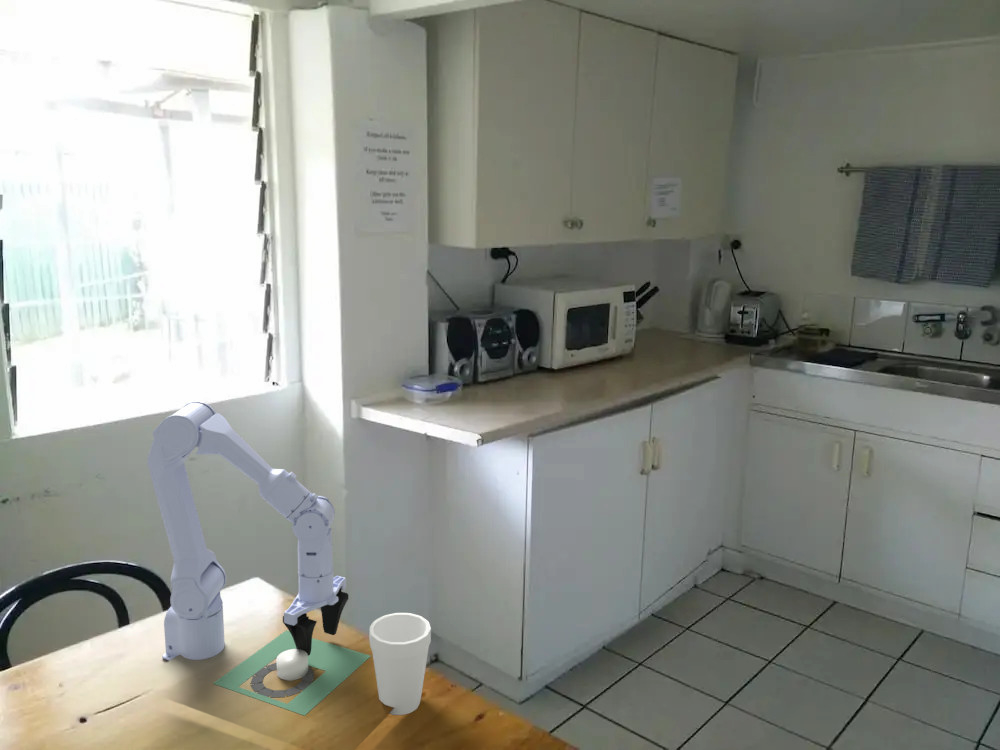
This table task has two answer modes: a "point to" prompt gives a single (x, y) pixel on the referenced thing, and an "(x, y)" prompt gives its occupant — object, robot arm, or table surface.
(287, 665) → the white smooth pebble
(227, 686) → the mat
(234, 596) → the table surface
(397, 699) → the foam cup
